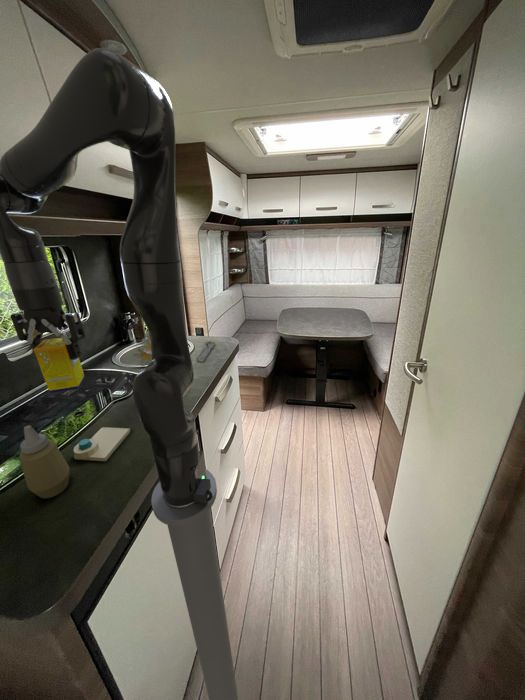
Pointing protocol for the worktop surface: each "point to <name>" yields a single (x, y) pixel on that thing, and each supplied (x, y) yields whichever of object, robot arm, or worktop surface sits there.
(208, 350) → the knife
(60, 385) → the supplement box
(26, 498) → the worktop surface
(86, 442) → the button
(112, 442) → the scale
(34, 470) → the squeeze bottle
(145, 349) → the flower vase
